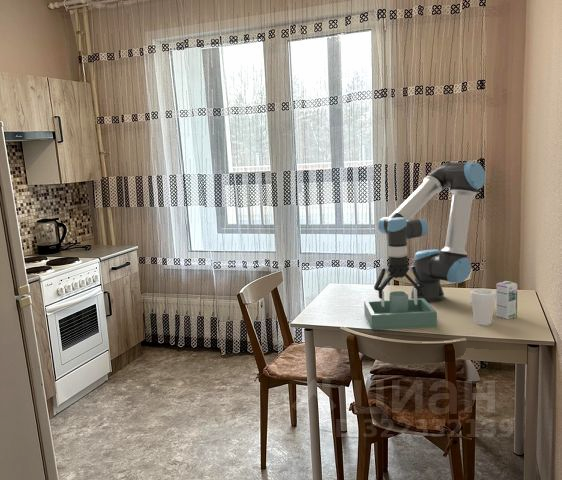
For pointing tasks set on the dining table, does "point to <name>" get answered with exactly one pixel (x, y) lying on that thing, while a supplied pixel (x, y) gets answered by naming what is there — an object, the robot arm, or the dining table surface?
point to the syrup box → (506, 299)
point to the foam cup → (483, 305)
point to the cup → (398, 302)
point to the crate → (400, 315)
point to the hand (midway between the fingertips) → (399, 304)
